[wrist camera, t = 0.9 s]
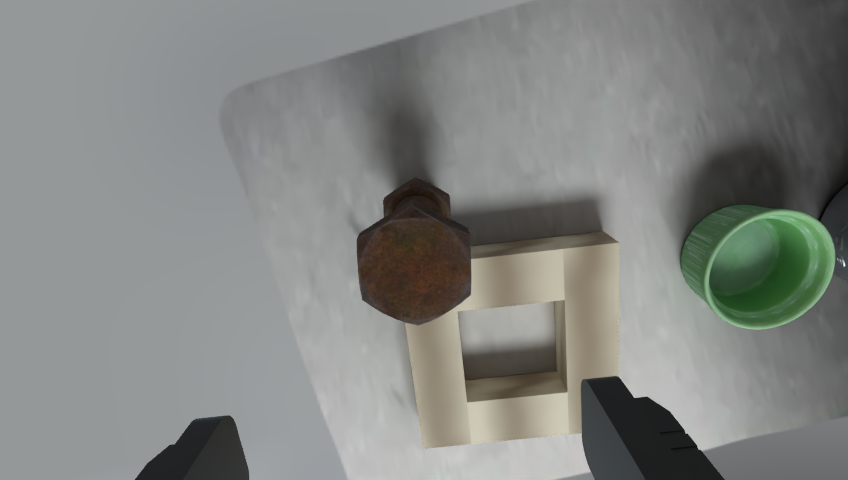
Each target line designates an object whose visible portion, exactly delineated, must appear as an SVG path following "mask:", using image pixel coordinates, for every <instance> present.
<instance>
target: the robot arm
mask: <svg viewBox="0 0 848 480" xmlns="http://www.w3.org/2000/svg"><path fill="white" fill-rule="evenodd" d="M820 222H821V223H822V224H823V225H824V226H825V228H826V229H827V231H828V232H829V233H830V236H831V238H832V241H833V243H834V248H835V266H834V272H833V273H834V274H836V275H837V276H839V277H841V278H843V279H846V280H848V184H847V185H846V186H845V187H844V188H843V189H842V190H841V191H840V192H839V193H838V194H837V195H836V196H835V197H834V198H833V199H832V201H831V202H830V204H829V205H828V206H827V208H826V210H825V212H824V214H823V216H822V218H821V220H820ZM581 419H582V442H583V447H584V452H585V456H586V459H587V462H588V465H589V468H590V470H591V472H592V474H593V476H594V479H595V480H724V478H723V477H722V476H721V475H720V473H719V472H718V471H717V470H716V469H715V467H714V466H713V465H712V464H711V462H710V461H709V460H708V459H707V457H706V456H705V455H704V454H703V452H702V451H701V450H698V448H697V445H696V444H695V442H694V441H693V440H692V439H691V437H690V436H689V435H688V434H685V430H684V429H683V428H682V426H681V425H680V424H679V423H678V421H677V420H676V419H675V418H674V416H673V415H672V414H671V413H670V411H668V410H667V409H665V408H664V407H662V406H660V405H659V404H657V403H656V402H654V401H653V400H651V399H650V398H648V397H641V398H634V397H633V396H632V394H631V393H630V392H629V390H628V389H627V387H626V386H625V385H624V383H623V382H622V380H621V379H620V378H619V377H618V376H610V377H600V378H591V379H583V380H582V382H581ZM135 480H249V470H248V466H247V462H246V459H245V455H244V452H243V448H242V445H241V441H240V438H239V435H238V431H237V427H236V424H235V422H234V419H233V418H232V417H231V416H218V417H209V418H201V419H200V418H199V419H195V420H193V421H192V422H191V423H190V425H189V426H188V427H187V429H186V430H185V431H184V433H183V434H182V436H181V437H180V438H179V440H178V441H177V442H176V444H175V445H169V446H168V447H167V448H166V449H164V450H163V451H162V452H161V453H160V454H158V455H157V456H156V457H155V458H154V459H152V460H151V461H150V462H149V463H147V465H146V466H145V467H144V469H143V470H142V471H141V472H140V474H139V475H138V476H137V478H136V479H135Z"/></svg>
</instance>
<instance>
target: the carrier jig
mask: <svg viewBox="0 0 848 480" xmlns="http://www.w3.org/2000/svg"><path fill="white" fill-rule="evenodd" d="M551 301H554V309H555V335H556V361H557V371H552V372H543V373H533V374H523V375H513V376H504V377H494V378H484V379H475V380H465V379H464V369H463V360H462V351H461V341H460V332H459V322H458V313H457V312H458V311H467V310H477V309H486V308H495V307H504V306H514V305H523V304H532V303H541V302H551ZM405 326H406V333H407V340H408V347H409V354H410V361H411V368H412V375H413V382H414V389H415V396H416V403H417V409H418V416H419V423H420V430H421V437H422V444H423V449H425V448H435V447H445V446H455V445H466V444H476V443H486V442H496V441H506V440H516V439H526V438H536V437H547V436H557V435H567V434H577V433H582V419H581V382H582V380H583V379H591V378H600V377H610V376H618V377H619V242H618V241H616V240H615V239H613V238H612V237H610V236H609V235H608V234H606V233H605V232H594V233H585V234H576V235H567V236H558V237H550V238H541V239H532V240H523V241H514V242H505V243H496V244H488V245H479V246H471V295H470V296H469V297H468V298H467V299H465V300H464V301H463V302H462V303H461V304H459V305H458V306H456V307H455V308H453V309H452V310H450V311H449V312H447V313H445V314H444V315H442V316H440V317H439V318H437V319H434V320H432V321H430V322H427V323H424V324H421V325H419V326H418V325H413V324H409V323H405Z"/></svg>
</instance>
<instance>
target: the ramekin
mask: <svg viewBox="0 0 848 480" xmlns="http://www.w3.org/2000/svg"><path fill="white" fill-rule="evenodd" d="M834 266H835V248H834V243H833V241H832V238H831V236H830V233H829V232H828V231H827V229H826V228H825V226H824V225H823V224H822V223H821V222H820V221H818V220H817V219H816V218H814V217H812V216H810V215H808V214H806V213H804V212H801V211H797V210H792V209H771V208H765V207H760V206H754V205H733V206H728V207H725V208H722V209H720V210H717V211H715V212H713V213H711V214H710V215H708V216H707V217H705V218H704V219H703V220H702V221H700V222H699V223H698V224H697V225H696V226H695V227H694V229H693V230H692V231H691V233H690V234H689V236H688V238H687V239H686V242H685V244H684V247H683V251H682V256H681V267H682V272H683V276H684V278H685V280H686V282H687V283H688V285H689V286H690V288H691V289H692V290H693V291H694V292H695V293H696V294H697V295H698V296H699V297H701V298H702V299H703V300H704V301H705V302H707V304H708V305H709V306H710V308H711V309H712V310H713V311H714V312H715V313H716V314H717V315H718V316H719V317H720V318H721V319H723V320H725V321H726V322H728V323H730V324H733V325H735V326H738V327H742V328H747V329H767V328H773V327H777V326H780V325H783V324H786V323H788V322H790V321H792V320H794V319H796V318H798V317H799V316H801V315H802V314H804V313H805V312H806V311H808V310H809V309H810V308H811V307H812V306H813V305H814V304H815V303H816V302H817V301H818V300H819V298H820V297H821V296H822V294H823V293H824V291H825V290H826V288H827V286H828V285H829V282H830V280H831V278H832V274H833V272H834Z"/></svg>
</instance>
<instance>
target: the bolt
mask: <svg viewBox="0 0 848 480" xmlns="http://www.w3.org/2000/svg"><path fill="white" fill-rule="evenodd" d="M383 205H384V218H383V219H381V220H380V221H378V222H376V223H375V224H373V225H372V226H370V227H369V228H367V229H365V230H364V231H362V232H361V233H360V234H359V236H358V238H357V261H358V274H359V284H360V291H361V295H362V300H364V301H365V302H366V303H368V304H369V305H371V306H372V307H373V308H375V309H377V310H378V311H380V312H382V313H384V314H386V315H388V316H390V317H393V318H395V319H397V320H400V321H403V322H405V323H409V324H413V325H418V326H419V325H421V324H424V323H427V322H430V321H432V320H434V319H437V318H439V317H440V316H442V315H444V314H445V313H447V312H449V311H450V310H452V309H453V308H455V307H456V306H458V305H459V304H461V303H462V302H463V301H464V300H465V299H467V298H468V297H469V296H470V295H471V245H470V234H469V231H468V228H467V227H465V226H463V225H461V224H459V223H457V222H455V221H453V220H451V214H450V197H449V194H447V193H446V192H444V191H442V190H441V189H439V188H437V187H435V186H433V185H431V184H429V183H427V182H425V181H423V180H421V179H418V178H414V179H412V180H410V181H409V182H407V183H405V184H404V185H402V186H400V187H399V188H397V189H396V190H394V191H393V192H392V193H390V194H389V195H387V196H386V197H385V198H384V200H383Z"/></svg>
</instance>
